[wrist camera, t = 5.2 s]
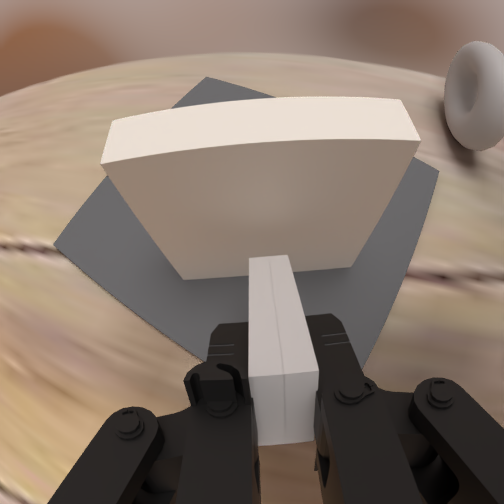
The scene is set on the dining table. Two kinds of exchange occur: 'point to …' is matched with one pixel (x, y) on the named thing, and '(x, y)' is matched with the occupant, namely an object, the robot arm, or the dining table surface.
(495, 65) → the donut
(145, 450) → the robot arm
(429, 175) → the mat
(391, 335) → the dining table surface
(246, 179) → the board
